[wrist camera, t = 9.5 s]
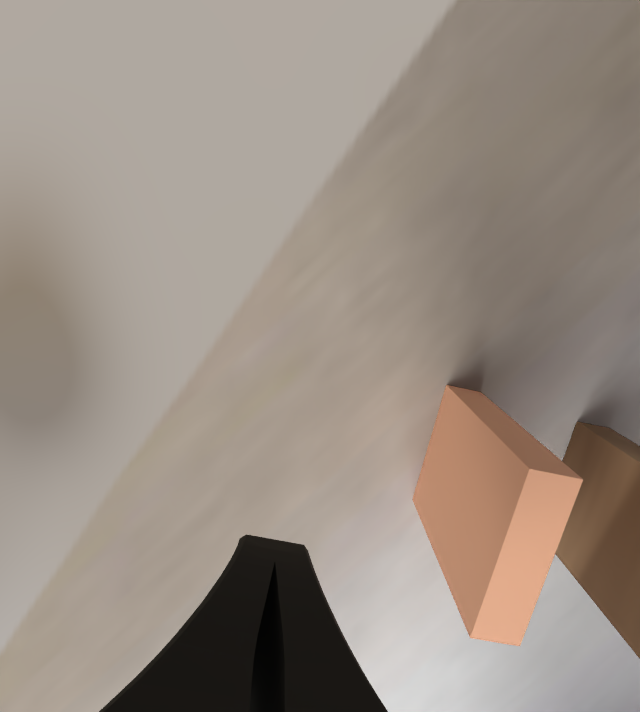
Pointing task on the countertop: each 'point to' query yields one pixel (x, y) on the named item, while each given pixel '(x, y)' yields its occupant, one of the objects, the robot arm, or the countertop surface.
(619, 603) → the tile
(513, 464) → the lead tile
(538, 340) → the countertop surface
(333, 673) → the robot arm
